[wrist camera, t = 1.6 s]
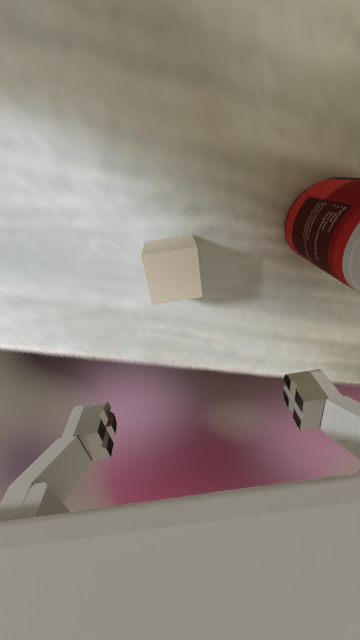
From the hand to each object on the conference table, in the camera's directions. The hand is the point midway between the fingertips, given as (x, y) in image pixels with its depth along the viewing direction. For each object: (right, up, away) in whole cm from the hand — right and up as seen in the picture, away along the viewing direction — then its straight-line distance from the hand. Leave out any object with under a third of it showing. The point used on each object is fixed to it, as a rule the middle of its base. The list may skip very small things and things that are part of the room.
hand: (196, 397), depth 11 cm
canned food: (+14, +14, +15) cm, 25 cm away
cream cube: (-2, +10, +16) cm, 19 cm away
